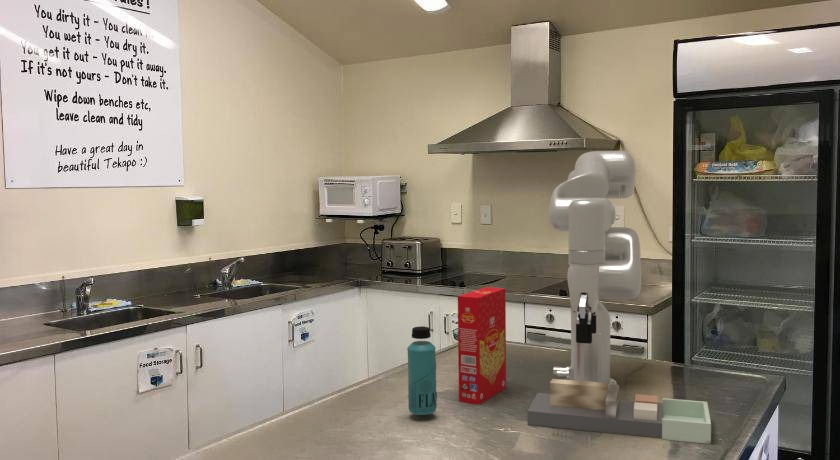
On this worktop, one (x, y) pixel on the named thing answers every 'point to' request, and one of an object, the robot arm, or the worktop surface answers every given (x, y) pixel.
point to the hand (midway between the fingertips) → (586, 337)
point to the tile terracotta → (646, 399)
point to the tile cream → (645, 411)
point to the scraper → (585, 395)
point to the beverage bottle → (421, 373)
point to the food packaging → (481, 344)
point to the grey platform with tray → (629, 419)
